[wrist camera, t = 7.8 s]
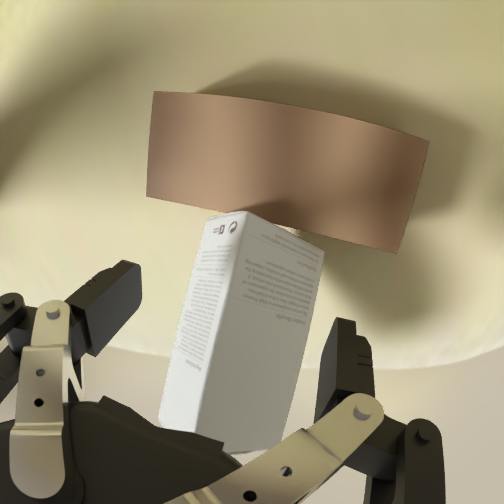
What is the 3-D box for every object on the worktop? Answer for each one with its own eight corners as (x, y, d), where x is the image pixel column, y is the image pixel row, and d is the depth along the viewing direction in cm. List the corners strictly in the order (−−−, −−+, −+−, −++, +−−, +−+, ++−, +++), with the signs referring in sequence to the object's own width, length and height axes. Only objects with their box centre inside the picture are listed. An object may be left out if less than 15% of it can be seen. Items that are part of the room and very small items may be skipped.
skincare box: (205, 216, 18) (149, 417, 15) (252, 205, 14) (182, 458, 12) (282, 252, 21) (235, 423, 19) (334, 250, 18) (279, 452, 15)
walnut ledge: (183, 177, 22) (146, 196, 17) (192, 93, 19) (153, 91, 14) (382, 222, 20) (396, 253, 15) (405, 134, 17) (429, 141, 12)
